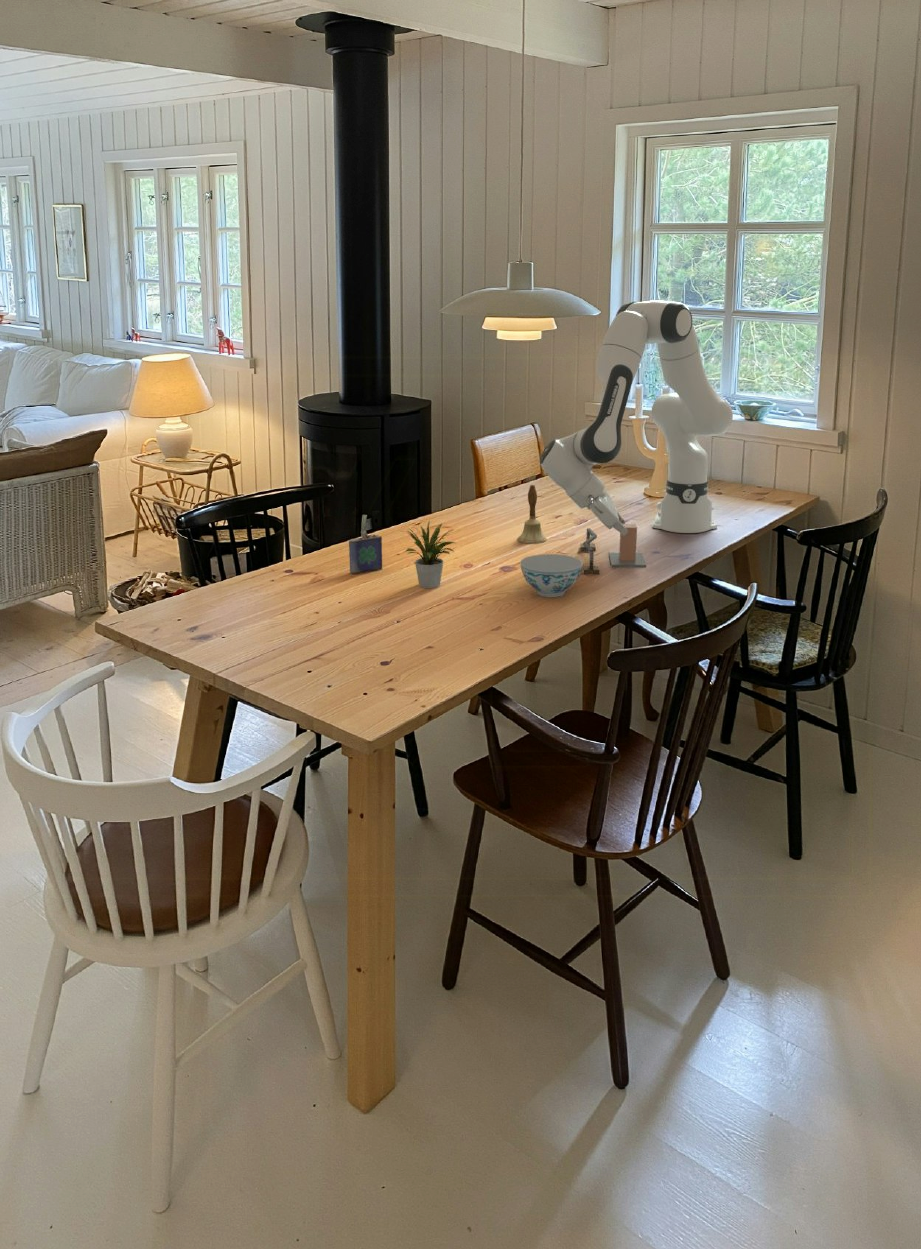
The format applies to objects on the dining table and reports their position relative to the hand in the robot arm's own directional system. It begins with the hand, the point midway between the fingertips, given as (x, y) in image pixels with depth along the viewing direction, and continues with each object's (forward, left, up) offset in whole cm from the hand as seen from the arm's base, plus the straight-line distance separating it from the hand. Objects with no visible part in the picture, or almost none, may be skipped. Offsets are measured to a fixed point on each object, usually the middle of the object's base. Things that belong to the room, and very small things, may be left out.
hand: (624, 528), depth 290 cm
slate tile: (0, +1, -9) cm, 9 cm away
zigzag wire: (0, -9, -9) cm, 13 cm away
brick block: (0, +1, -8) cm, 8 cm away
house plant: (+25, -51, -9) cm, 57 cm away
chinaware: (+29, -20, -9) cm, 36 cm away
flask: (+12, -68, -9) cm, 69 cm away
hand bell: (-21, -25, -9) cm, 34 cm away
